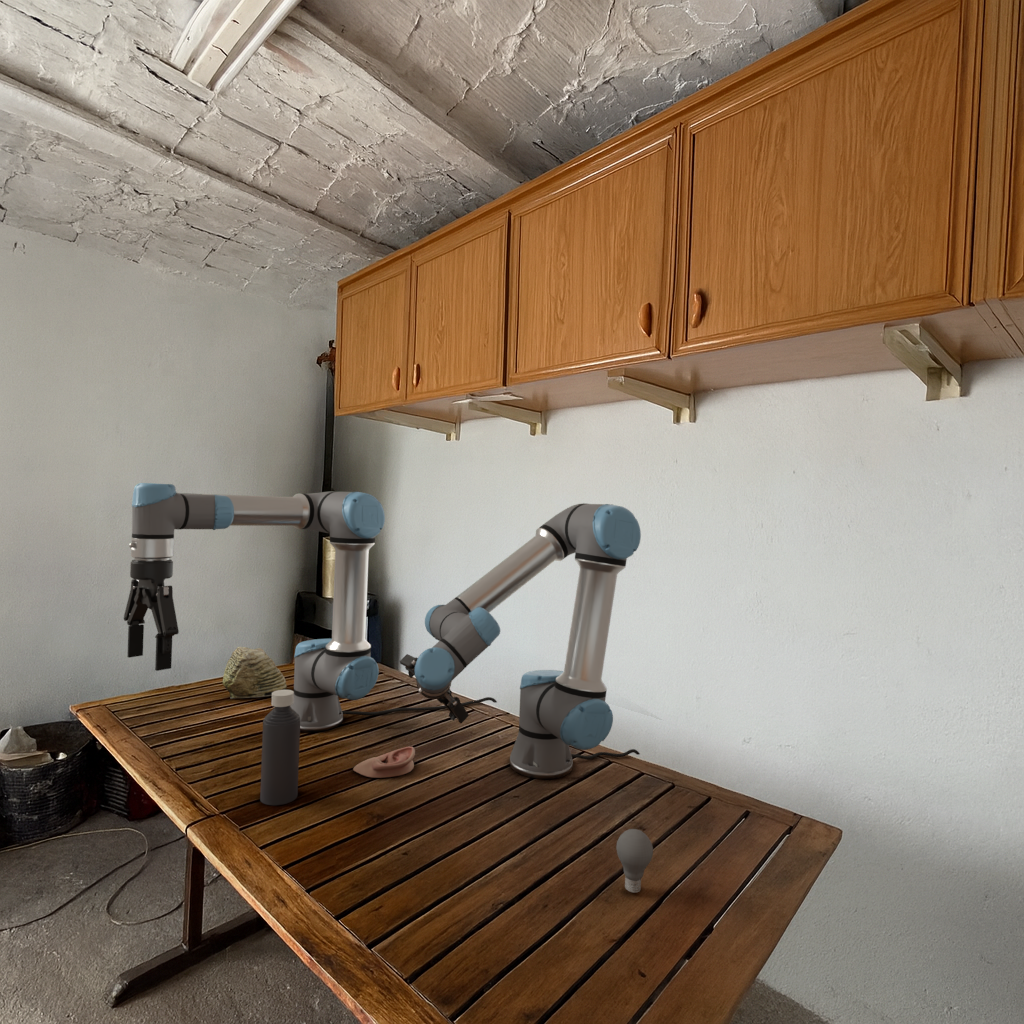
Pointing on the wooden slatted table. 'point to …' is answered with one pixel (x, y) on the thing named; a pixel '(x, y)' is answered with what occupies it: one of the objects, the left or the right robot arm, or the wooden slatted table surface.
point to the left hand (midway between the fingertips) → (148, 662)
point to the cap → (282, 698)
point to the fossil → (252, 674)
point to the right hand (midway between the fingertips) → (433, 692)
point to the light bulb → (634, 857)
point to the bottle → (280, 756)
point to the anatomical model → (388, 764)
